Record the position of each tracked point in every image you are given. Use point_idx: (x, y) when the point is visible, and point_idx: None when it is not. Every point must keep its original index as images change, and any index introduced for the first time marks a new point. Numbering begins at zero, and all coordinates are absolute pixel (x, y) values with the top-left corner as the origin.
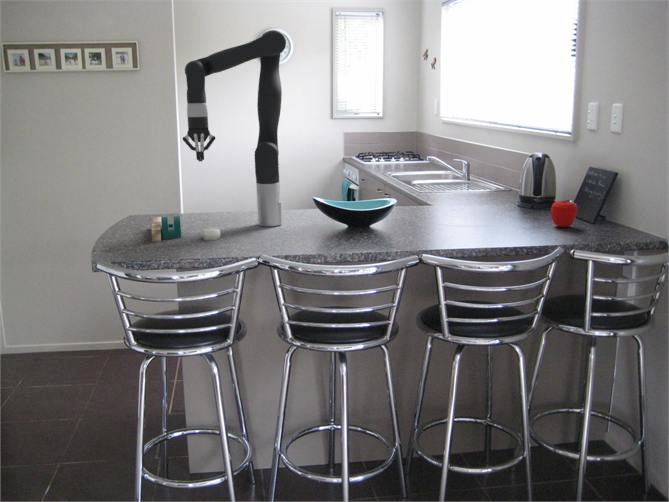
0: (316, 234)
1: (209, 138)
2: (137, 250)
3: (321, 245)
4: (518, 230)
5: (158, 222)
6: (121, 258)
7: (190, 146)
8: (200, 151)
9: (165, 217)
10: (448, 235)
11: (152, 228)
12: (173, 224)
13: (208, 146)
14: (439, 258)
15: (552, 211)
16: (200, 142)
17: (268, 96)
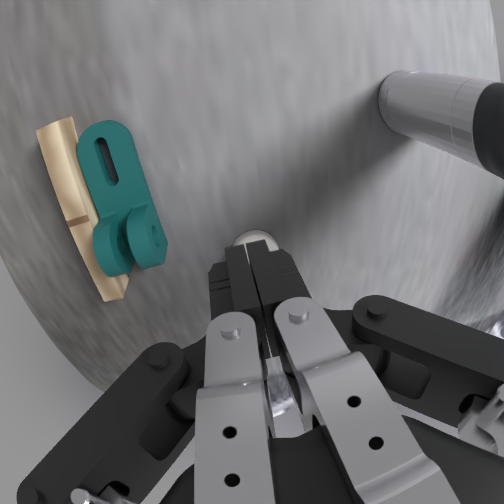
0: (463, 227)
1: (468, 436)
2: (115, 340)
3: (441, 300)
4: None
5: (81, 218)
6: (117, 376)
7: (164, 438)
8: (276, 341)
9: (113, 266)
10: None
11: (98, 287)
12: (108, 139)
13: (396, 376)
14: (495, 334)
15: None
16: (316, 414)
17: None
